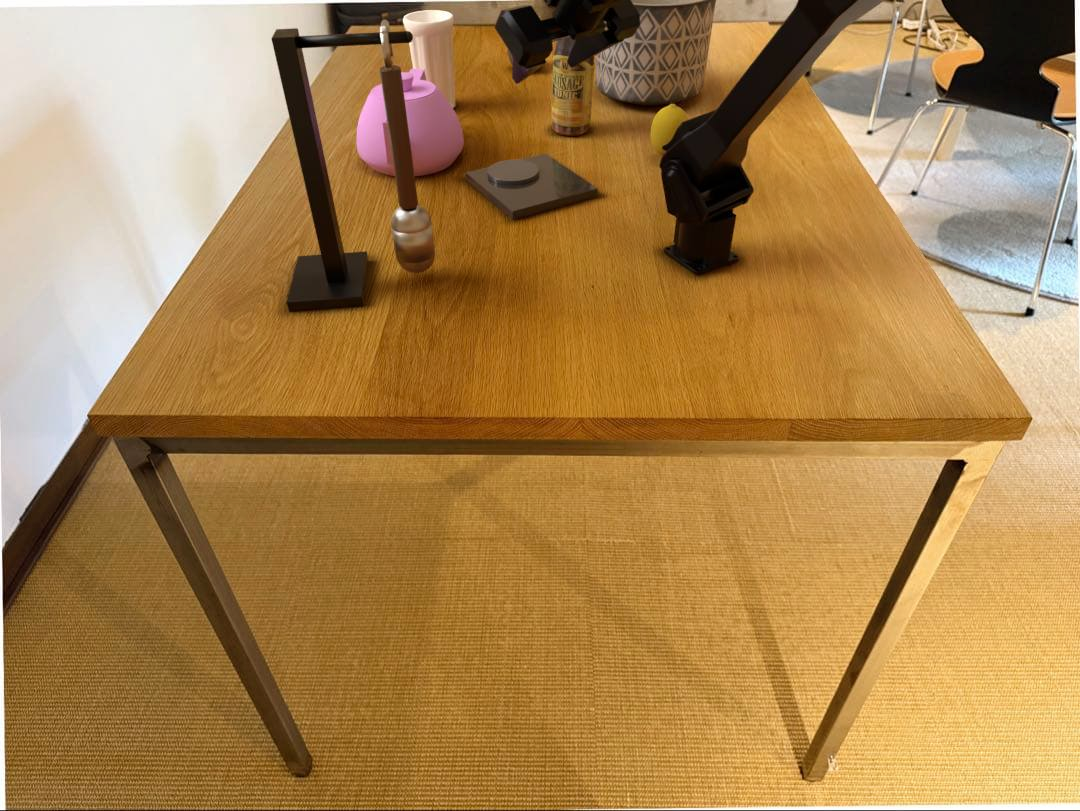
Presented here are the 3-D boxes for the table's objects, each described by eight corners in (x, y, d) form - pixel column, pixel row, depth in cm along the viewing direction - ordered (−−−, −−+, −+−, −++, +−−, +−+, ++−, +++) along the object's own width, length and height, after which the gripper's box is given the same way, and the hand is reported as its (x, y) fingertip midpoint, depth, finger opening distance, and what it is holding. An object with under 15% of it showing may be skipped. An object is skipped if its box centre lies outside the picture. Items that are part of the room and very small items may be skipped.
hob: (597, 196, 102) (598, 183, 101) (512, 220, 97) (512, 207, 96) (545, 160, 111) (545, 148, 110) (465, 180, 107) (464, 168, 106)
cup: (404, 106, 130) (393, 15, 120) (445, 96, 133) (436, 7, 124) (429, 120, 125) (419, 26, 115) (470, 108, 128) (463, 16, 119)
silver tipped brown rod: (436, 259, 88) (408, 16, 71) (437, 279, 85) (407, 29, 68) (398, 262, 88) (361, 18, 71) (397, 282, 84) (358, 31, 68)
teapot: (378, 130, 121) (365, 51, 114) (474, 131, 121) (468, 51, 113) (341, 190, 105) (324, 102, 97) (453, 192, 104) (444, 102, 96)
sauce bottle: (544, 134, 119) (543, -7, 106) (562, 121, 124) (562, -16, 111) (582, 141, 117) (585, -2, 104) (598, 127, 121) (603, -12, 108)
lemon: (685, 168, 109) (691, 112, 103) (646, 165, 110) (651, 109, 104) (687, 153, 113) (693, 98, 108) (650, 150, 114) (654, 96, 108)
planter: (708, 81, 137) (721, -21, 127) (698, 118, 123) (712, 7, 113) (604, 74, 141) (608, -26, 130) (583, 110, 127) (585, 1, 116)
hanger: (440, 254, 91) (412, 13, 74) (441, 300, 83) (411, 42, 66) (300, 265, 90) (238, 21, 72) (288, 311, 82) (217, 51, 65)
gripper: (619, -95, 88) (563, 7, 101) (493, -75, 79) (450, 35, 92) (671, -17, 87) (608, 76, 101) (549, 12, 78) (498, 110, 91)
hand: (543, 72), depth 96 cm, fingers open, 9 cm apart
